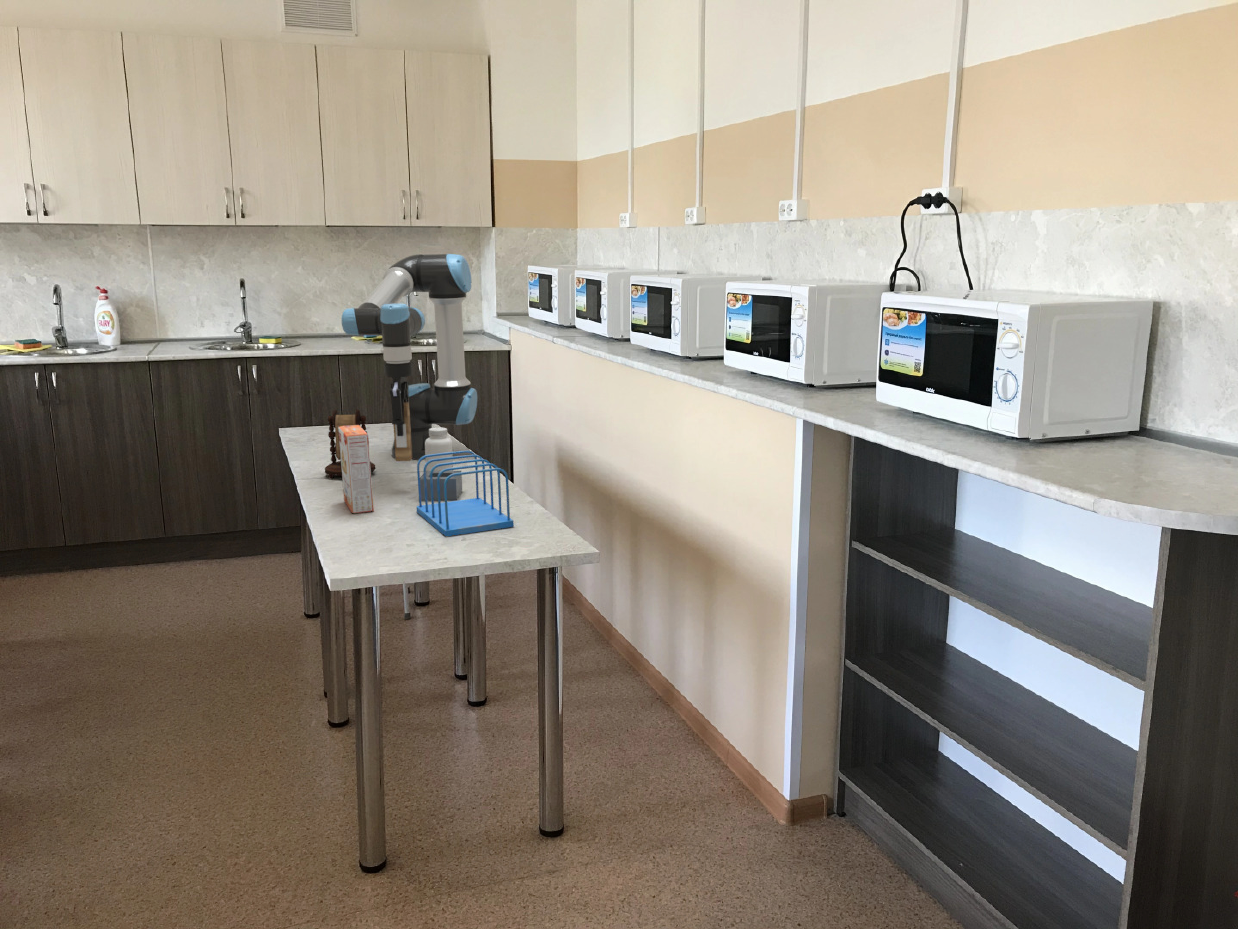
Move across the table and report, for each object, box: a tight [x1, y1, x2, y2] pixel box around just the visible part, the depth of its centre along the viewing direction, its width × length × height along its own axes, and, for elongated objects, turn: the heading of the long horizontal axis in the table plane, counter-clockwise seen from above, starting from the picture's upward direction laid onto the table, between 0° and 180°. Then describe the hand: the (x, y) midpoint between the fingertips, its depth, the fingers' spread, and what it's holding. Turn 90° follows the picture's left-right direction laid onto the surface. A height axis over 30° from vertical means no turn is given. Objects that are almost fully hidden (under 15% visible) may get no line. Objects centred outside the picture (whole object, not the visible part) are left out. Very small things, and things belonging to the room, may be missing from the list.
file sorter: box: [415, 450, 515, 537], centre depth 246 cm, size 25×17×15 cm
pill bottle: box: [424, 426, 454, 471], centre depth 290 cm, size 8×8×15 cm
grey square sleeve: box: [420, 470, 463, 502], centre depth 271 cm, size 10×10×6 cm
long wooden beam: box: [392, 402, 413, 462], centre depth 273 cm, size 3×4×16 cm
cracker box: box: [338, 424, 374, 514], centre depth 259 cm, size 14×6×21 cm, turn 23°
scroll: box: [324, 408, 377, 480], centre depth 296 cm, size 15×15×20 cm
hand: (403, 445), depth 274 cm, fingers closed on long wooden beam, 3 cm apart
